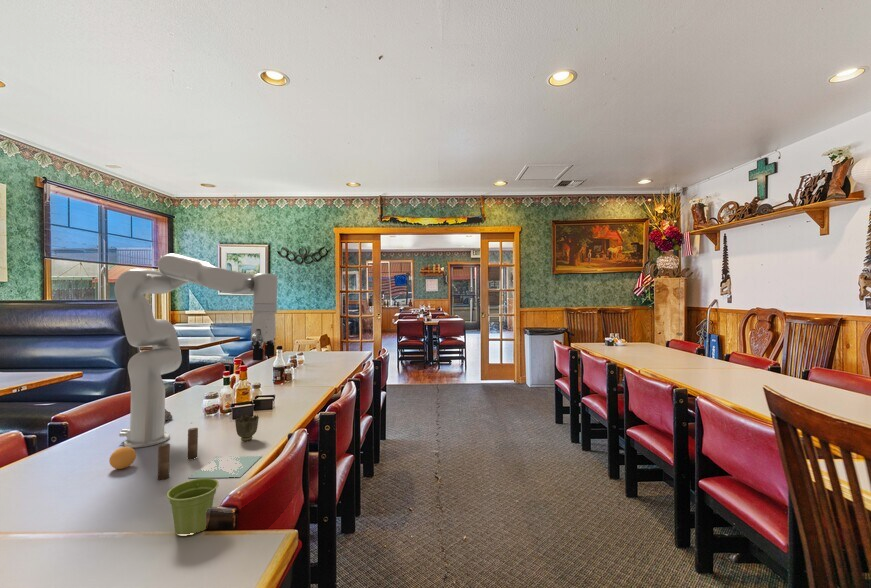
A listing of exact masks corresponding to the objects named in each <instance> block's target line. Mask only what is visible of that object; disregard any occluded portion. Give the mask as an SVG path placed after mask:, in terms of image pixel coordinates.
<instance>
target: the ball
mask: <svg viewBox="0 0 871 588" xmlns="http://www.w3.org/2000/svg"><path fill="white" fill-rule="evenodd" d="M136 458H137V452H136V450H135V449H134V448H131V447H125V446H122V447H119V448H117V449H116V450H114V451H113V452H112V453H111V455H110V457H109V465H110V466H111V467H112V468H113V469H117V470H123V469H126V468H129V467H130V466H131V465H132V464H133V463H134V462H135V460H136Z"/></svg>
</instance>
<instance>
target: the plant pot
mask: <svg viewBox="0 0 871 588" xmlns="http://www.w3.org/2000/svg"><path fill="white" fill-rule="evenodd" d="M219 483H220V482H219V481H218V480H217V479H216V478H194V479H191V480H187V481H184V482H181V483H179V484H177V485H175V486H173V487H172V488H170V489H168V491H167V492H166V498H167V499H168V500H169V504H170V506H171V511H172V519H173V525H174V526H173V527H174V532H175V534H176V533H177V534H190V533H195V532H197V533H201V532H200V531H202V532H203V531H205V530H206V529H207V528H206V511H207V510H208V509H209V508H213V503H214V499H215V494H216V492H217V489H218V487H219ZM177 534H176V535H177ZM195 534H196V533H195Z"/></svg>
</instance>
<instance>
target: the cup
mask: <svg viewBox="0 0 871 588" xmlns="http://www.w3.org/2000/svg"><path fill="white" fill-rule="evenodd" d="M259 418H260V417H259V415H255V414H254V415H253V416H251V414H249V415H248V414H245V415H244V416H243V415H241V416H238V417H236V418H235V419H234V422H235V423H234V424H235V431H236V434H237V436H238V437H240V440H241V442H242V441H243V443H246V442H247V441H248V442H250V441H252V440H253V438H254V437H253V436H254V435H255V434H256V432H257V430H258V427H259V426H258V425H259Z"/></svg>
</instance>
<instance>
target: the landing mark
mask: <svg viewBox="0 0 871 588" xmlns="http://www.w3.org/2000/svg"><path fill="white" fill-rule="evenodd" d="M217 457H218V458H219V457H220V458H221V457H222V456H214V458H217ZM233 457H234V456H233ZM239 457H240V458H238V457H237V458H236V457H235V458H236V459H235V458H234V459H235V460H236V461H239V460H240V461H239V462H240V463H241V464H242V466H243V468H241V467H242V466H240V467H238V468H239V469H237V471H235V470H233V472H234V473H235V474H233V475H232V473H233V472H232V473H230V474H229V472H226V471H223V470H222V469H220V470H219V468H218V467H219V461H220V460H219V459H218V458H217V459H218V460H219V461H218V460H217V459H216V460H214V458H213V460H214V462H215V463H216V465H217V466H215V467H217V470H216V469H214V471H212V470H211V471H212V472H211V471H209V470H208V471H207V470H206V471H204V470H203V471H202V470H201V468H199V469H200V470H199V469H198V470H196V471H195V472H194V473H192V475H190V476H189V477H188V479H189V480H190V479H203V478H210V479H230V478H229V477H234V478H233V479H236V478H235V477H239V478H238V479H240V478H241V477H243V476H244V474H246V472H247V470H248V469H249V468H250V467H251V466H252V465H253V464H254V465H255V464H256V463H257V462H258V461H259V460H260V459H261V458H262V457H263V456H262V455H261V456H259V455H256V456H255V455H253V456H252V455H251V456H250V455H248V456H246V455H245V456H244V455H243V456H241V455H239ZM231 459H232V458H231ZM234 459H233V460H234ZM237 459H238V460H237ZM211 460H212V459H211ZM213 460H212V461H213ZM221 461H222V460H221ZM227 461H228V460H227ZM209 462H210V461H209ZM209 462H207V463H209ZM210 463H211V462H210ZM210 463H209V464H210ZM240 463H239V464H240ZM235 464H237V463H235ZM254 465H253V466H254ZM253 466H252V467H253ZM215 467H214V468H215ZM252 467H251V468H252ZM220 468H221V467H220ZM223 468H224V467H223ZM240 468H241V469H240ZM251 468H250V469H251ZM211 469H212V468H211ZM250 469H249V470H250ZM231 470H232V469H231ZM249 470H248V471H249ZM238 471H239V472H238ZM237 473H238V474H237ZM236 474H237V475H236Z"/></svg>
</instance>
